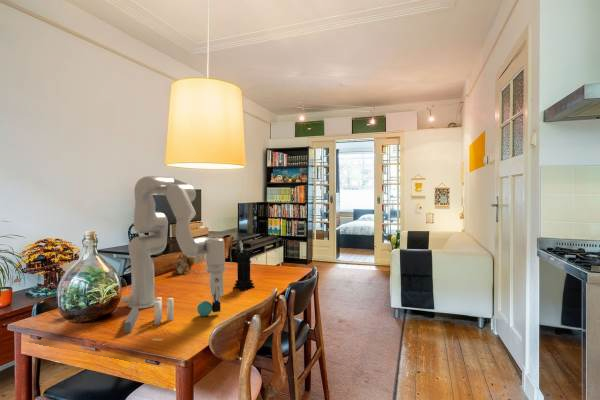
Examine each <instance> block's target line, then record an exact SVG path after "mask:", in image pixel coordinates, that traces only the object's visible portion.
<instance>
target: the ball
mask: <svg viewBox="0 0 600 400" xmlns="http://www.w3.org/2000/svg"><path fill="white" fill-rule="evenodd" d="M196 309H197V313H198V315H199V316H201V317H207V316H209V315H210V314H211V313H212V312H213V311H212V303H211V302H210V301H208V300H204V301H201V302H200V303H199V304H198V306H197V308H196Z"/></svg>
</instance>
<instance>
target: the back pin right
mask: <svg viewBox="0 0 600 400" xmlns="http://www.w3.org/2000/svg"><path fill="white" fill-rule="evenodd" d="M153 312H154V313H153V315H154V316H153V320H154V321H153V323H154V325H155V326H156V325H161V324H162V319H161V301H155V302H154V306H153Z"/></svg>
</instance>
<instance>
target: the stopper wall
mask: <svg viewBox="0 0 600 400" xmlns="http://www.w3.org/2000/svg"><path fill="white" fill-rule="evenodd" d="M138 318H139V309H138V306H137V307H133V308H131V309H130V312H129V313H128V315H127V318H126V319H125V321H124V322H123V323H124V334H125V333H127V334H131V333H132V331H133V329H134V327H135V324H136V322H137V320H138Z"/></svg>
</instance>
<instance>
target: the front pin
mask: <svg viewBox="0 0 600 400" xmlns="http://www.w3.org/2000/svg"><path fill="white" fill-rule="evenodd" d="M174 312H175V311H174V297H168V298H167V299H166V316H167V317H166V321H168V322H171V321H174V317H175V316H174V314H175V313H174Z"/></svg>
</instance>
